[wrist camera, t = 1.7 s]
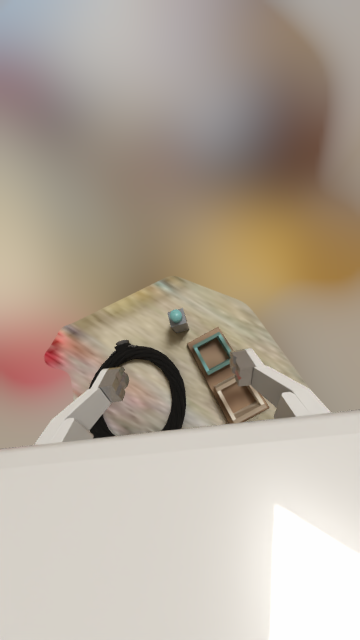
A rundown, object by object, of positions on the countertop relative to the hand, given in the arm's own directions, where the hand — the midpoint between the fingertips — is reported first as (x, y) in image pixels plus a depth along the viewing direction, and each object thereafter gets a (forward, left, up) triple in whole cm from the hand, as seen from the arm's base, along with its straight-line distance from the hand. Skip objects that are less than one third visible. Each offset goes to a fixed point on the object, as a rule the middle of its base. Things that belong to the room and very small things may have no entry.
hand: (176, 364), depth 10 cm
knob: (+11, -2, -29) cm, 31 cm away
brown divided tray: (-6, -6, -29) cm, 30 cm away
